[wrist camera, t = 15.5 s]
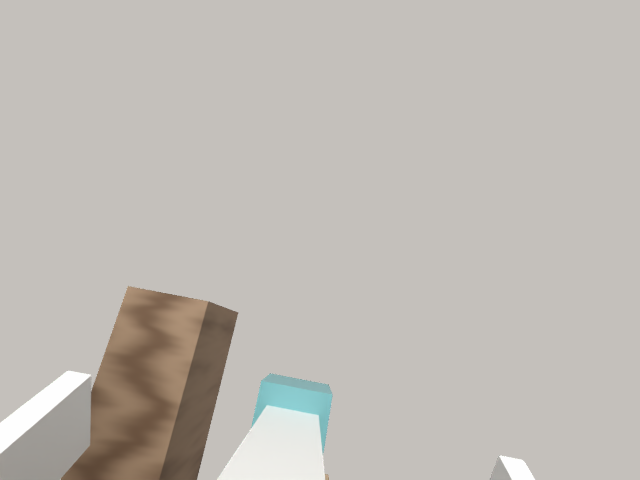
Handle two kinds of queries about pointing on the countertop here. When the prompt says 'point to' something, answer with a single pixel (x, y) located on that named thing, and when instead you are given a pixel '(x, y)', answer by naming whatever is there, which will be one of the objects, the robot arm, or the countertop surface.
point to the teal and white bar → (284, 433)
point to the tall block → (156, 389)
